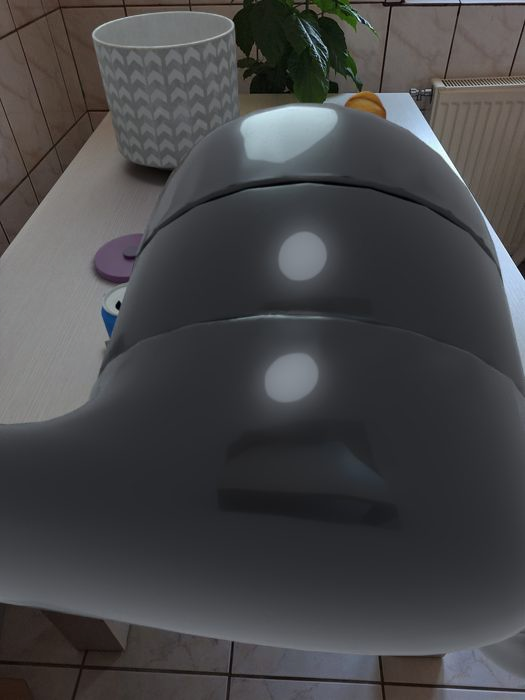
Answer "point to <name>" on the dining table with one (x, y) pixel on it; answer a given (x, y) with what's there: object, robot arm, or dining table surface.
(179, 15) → the planter
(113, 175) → the dining table surface
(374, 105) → the cheeseburger
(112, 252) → the plum lid
